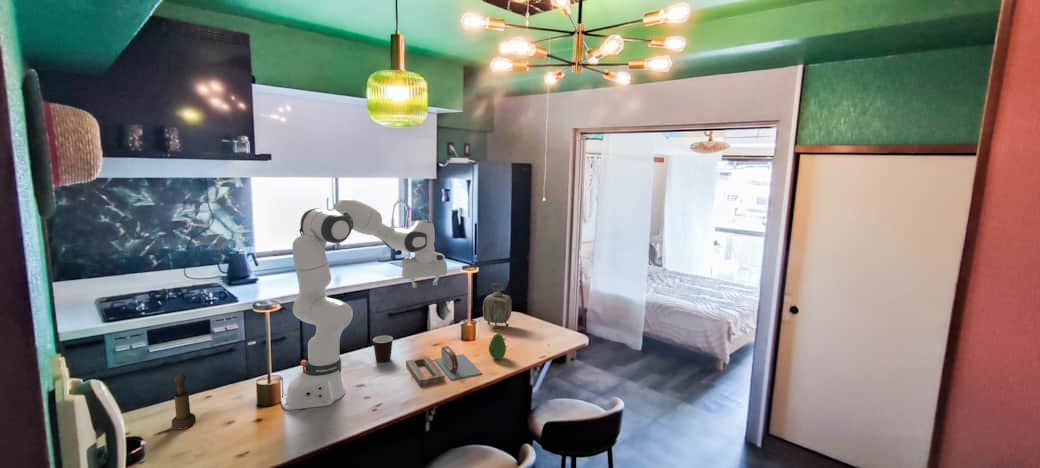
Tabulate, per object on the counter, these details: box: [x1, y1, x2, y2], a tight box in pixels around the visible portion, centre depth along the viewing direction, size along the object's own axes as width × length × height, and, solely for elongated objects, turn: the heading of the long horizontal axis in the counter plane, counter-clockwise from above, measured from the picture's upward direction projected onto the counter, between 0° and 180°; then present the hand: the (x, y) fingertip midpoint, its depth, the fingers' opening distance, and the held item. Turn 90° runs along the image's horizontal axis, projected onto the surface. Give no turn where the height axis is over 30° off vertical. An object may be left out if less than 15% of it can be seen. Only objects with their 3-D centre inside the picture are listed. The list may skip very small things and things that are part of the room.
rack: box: [405, 356, 445, 387], centre depth 206 cm, size 10×21×2 cm, turn 28°
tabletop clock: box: [482, 282, 513, 329], centre depth 262 cm, size 14×9×25 cm, turn 77°
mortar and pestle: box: [171, 373, 197, 430], centre depth 161 cm, size 7×6×18 cm
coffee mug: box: [372, 335, 394, 364], centre depth 219 cm, size 12×9×10 cm
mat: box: [434, 353, 483, 381], centre depth 213 cm, size 14×22×1 cm, turn 28°
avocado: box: [488, 333, 507, 360], centre depth 222 cm, size 8×8×12 cm
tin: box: [440, 345, 458, 372], centre depth 210 cm, size 15×3×8 cm, turn 28°
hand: (424, 286), depth 217 cm, fingers open, 8 cm apart
